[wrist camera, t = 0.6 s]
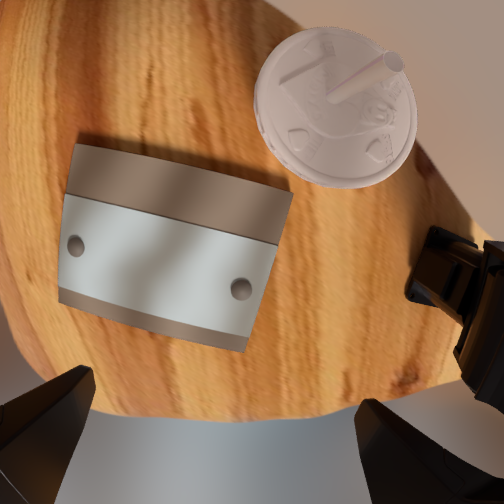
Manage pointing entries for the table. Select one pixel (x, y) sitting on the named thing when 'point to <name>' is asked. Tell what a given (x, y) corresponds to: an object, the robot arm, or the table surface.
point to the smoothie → (336, 108)
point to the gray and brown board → (167, 245)
